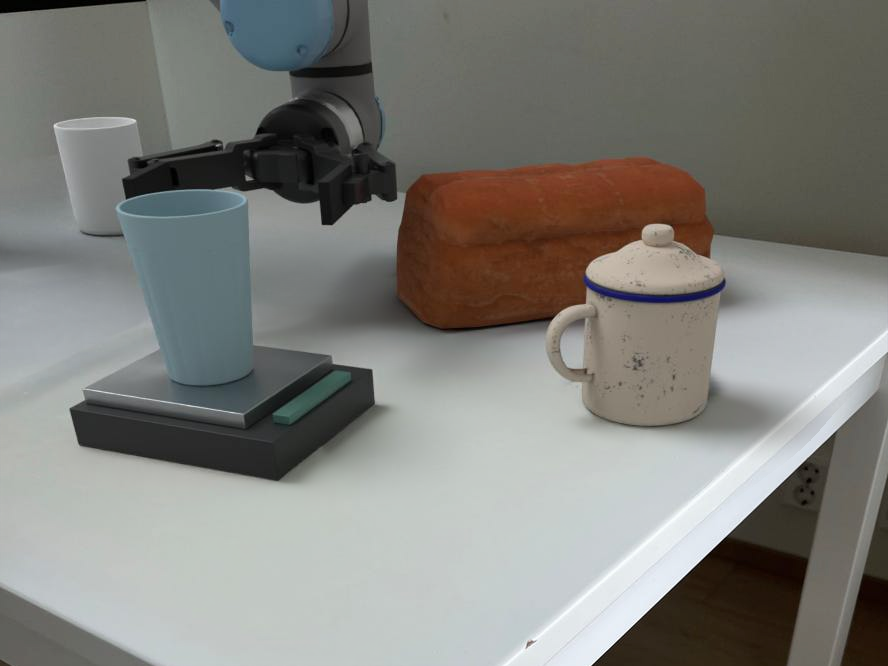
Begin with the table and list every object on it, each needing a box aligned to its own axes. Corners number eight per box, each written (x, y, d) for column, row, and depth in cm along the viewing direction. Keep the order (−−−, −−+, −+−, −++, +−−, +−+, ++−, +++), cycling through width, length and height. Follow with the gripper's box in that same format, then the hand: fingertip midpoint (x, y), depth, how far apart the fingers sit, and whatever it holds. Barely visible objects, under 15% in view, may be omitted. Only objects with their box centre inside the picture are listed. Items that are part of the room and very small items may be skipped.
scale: (78, 444, 65) (64, 393, 63) (195, 377, 75) (187, 330, 73) (278, 480, 60) (270, 426, 58) (375, 403, 70) (371, 354, 68)
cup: (242, 396, 62) (214, 218, 56) (129, 389, 63) (90, 214, 57) (287, 355, 68) (266, 190, 62) (183, 349, 69) (152, 187, 63)
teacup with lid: (667, 372, 74) (684, 205, 68) (735, 417, 67) (761, 235, 61) (519, 396, 71) (521, 222, 64) (574, 445, 64) (583, 256, 57)
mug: (159, 210, 121) (141, 111, 115) (153, 233, 111) (133, 126, 105) (85, 214, 119) (63, 114, 113) (73, 238, 110) (47, 130, 104)
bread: (725, 303, 88) (742, 172, 82) (437, 340, 81) (432, 200, 75) (643, 260, 100) (652, 143, 94) (386, 288, 93) (378, 164, 87)
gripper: (455, 197, 86) (411, 264, 68) (176, 192, 88) (66, 255, 71) (453, 99, 81) (405, 143, 64) (160, 96, 84) (38, 138, 67)
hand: (226, 202), depth 67 cm, fingers open, 13 cm apart
